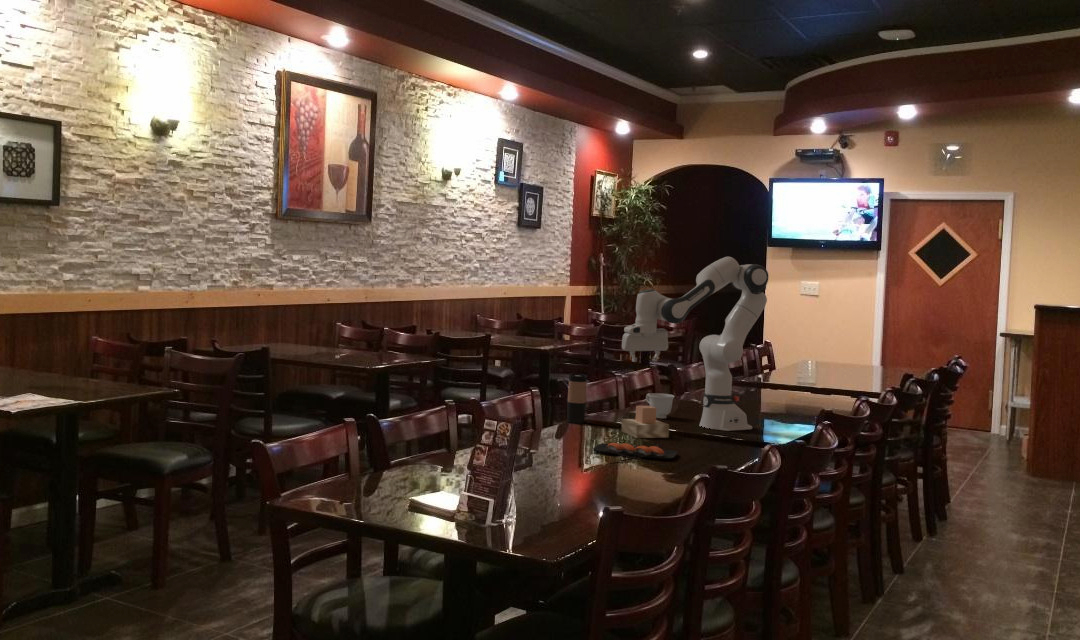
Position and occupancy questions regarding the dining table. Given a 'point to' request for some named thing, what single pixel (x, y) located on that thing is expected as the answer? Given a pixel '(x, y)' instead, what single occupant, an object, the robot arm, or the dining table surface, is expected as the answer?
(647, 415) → the terracotta cube
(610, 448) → the sushi plate
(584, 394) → the travel mug
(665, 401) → the teacup
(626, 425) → the birch plinth
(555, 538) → the dining table surface
